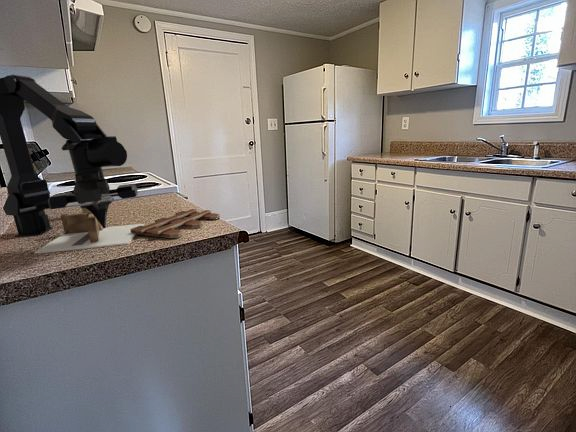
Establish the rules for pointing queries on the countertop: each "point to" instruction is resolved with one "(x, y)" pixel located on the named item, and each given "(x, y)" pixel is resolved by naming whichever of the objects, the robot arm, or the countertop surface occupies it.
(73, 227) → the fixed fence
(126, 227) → the card
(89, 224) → the gate panel
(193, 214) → the decorative fence
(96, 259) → the countertop surface
